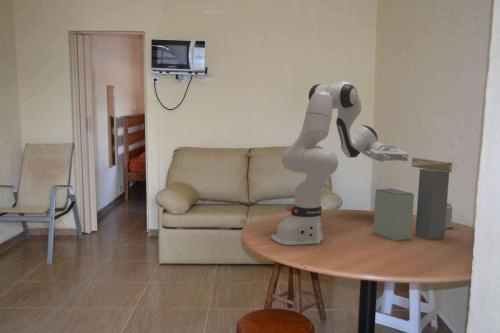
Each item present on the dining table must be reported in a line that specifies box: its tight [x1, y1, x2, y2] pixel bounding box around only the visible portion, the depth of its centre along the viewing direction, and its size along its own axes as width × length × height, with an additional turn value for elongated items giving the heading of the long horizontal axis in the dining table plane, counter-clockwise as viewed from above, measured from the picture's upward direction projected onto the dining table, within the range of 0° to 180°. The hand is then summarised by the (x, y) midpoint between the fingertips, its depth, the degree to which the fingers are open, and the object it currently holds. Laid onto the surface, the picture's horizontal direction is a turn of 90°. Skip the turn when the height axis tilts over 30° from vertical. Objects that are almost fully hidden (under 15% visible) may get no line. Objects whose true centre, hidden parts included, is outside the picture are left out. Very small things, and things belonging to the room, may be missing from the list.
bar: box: [411, 157, 453, 173], centre depth 195 cm, size 2×20×4 cm, turn 25°
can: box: [445, 202, 453, 230], centre depth 214 cm, size 8×8×12 cm
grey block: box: [372, 187, 415, 242], centre depth 197 cm, size 9×14×20 cm, turn 25°
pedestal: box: [415, 168, 450, 241], centre depth 195 cm, size 9×8×30 cm
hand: (398, 159), depth 210 cm, fingers open, 8 cm apart
